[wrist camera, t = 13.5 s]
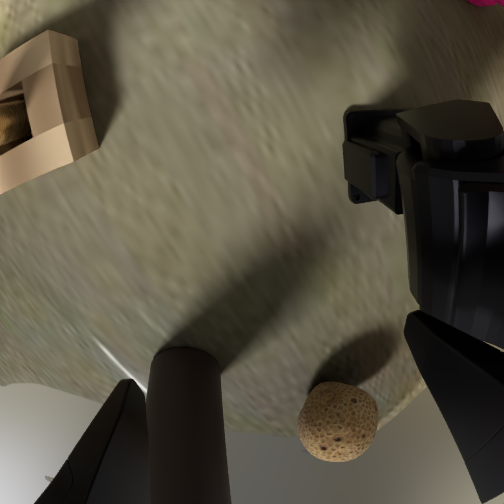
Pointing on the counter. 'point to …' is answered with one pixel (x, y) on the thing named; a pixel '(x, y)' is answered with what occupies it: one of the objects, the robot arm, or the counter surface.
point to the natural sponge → (337, 421)
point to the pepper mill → (486, 2)
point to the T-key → (13, 121)
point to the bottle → (186, 430)
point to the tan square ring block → (46, 108)
